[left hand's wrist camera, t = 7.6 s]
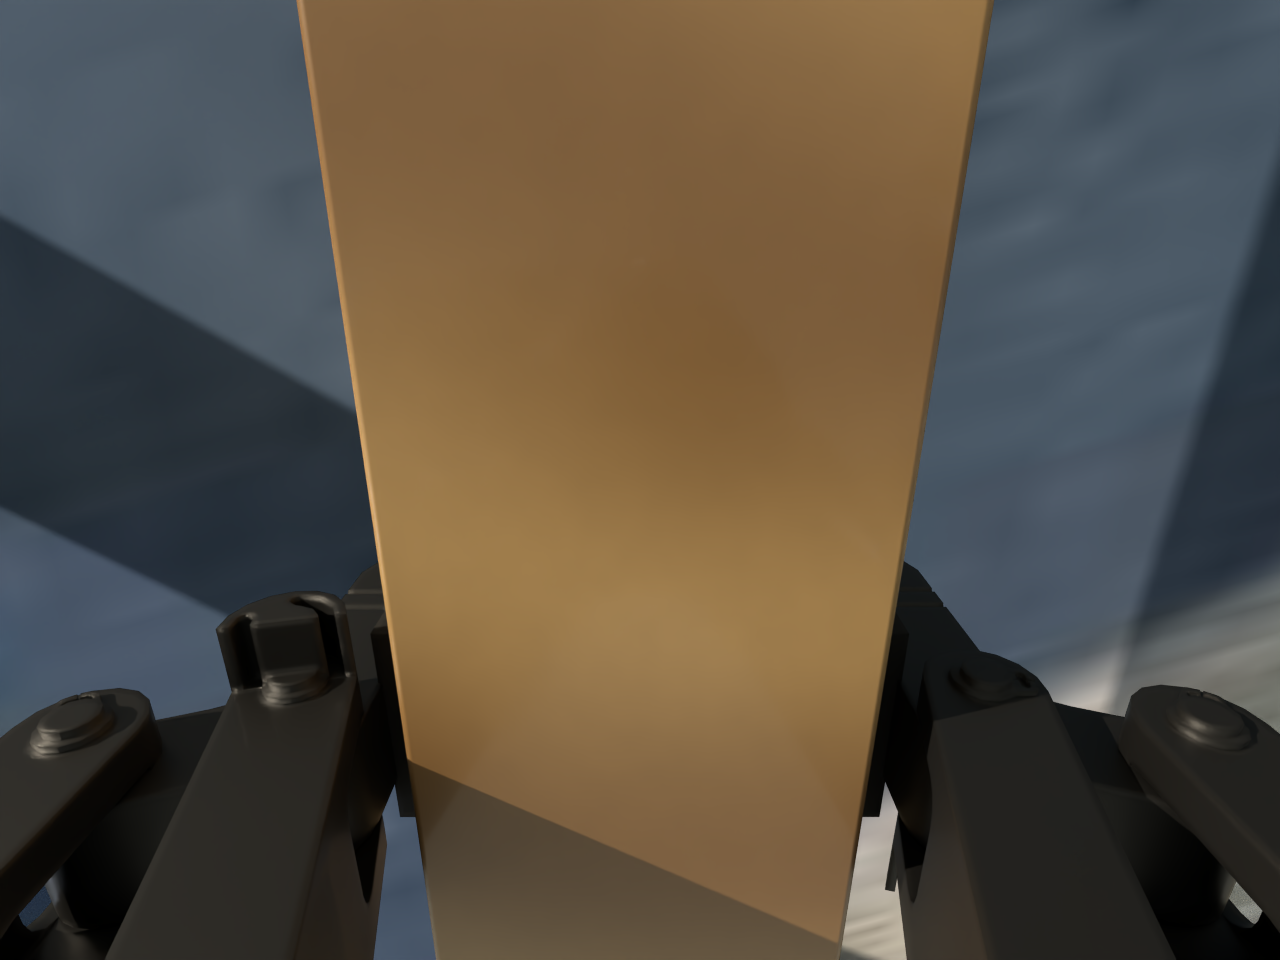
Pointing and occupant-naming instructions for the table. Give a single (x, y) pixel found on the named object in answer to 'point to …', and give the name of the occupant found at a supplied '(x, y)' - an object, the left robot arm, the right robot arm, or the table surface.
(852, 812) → the beam
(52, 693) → the table surface
